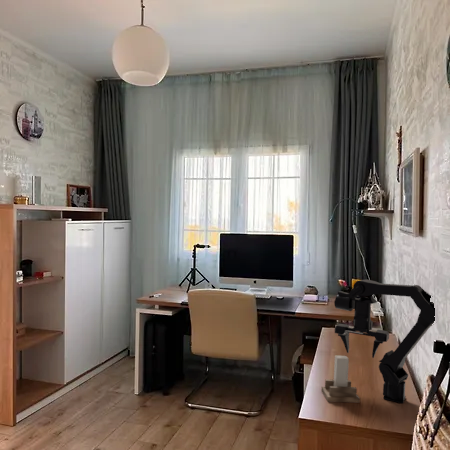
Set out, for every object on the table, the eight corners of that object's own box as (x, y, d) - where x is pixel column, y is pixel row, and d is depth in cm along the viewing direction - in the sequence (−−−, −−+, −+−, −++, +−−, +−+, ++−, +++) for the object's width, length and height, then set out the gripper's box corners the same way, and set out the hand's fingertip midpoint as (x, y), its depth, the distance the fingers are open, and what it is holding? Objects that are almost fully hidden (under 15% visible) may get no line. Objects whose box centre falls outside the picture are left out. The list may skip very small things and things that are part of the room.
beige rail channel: (351, 391, 156) (352, 379, 156) (359, 402, 147) (360, 389, 147) (321, 390, 156) (321, 378, 156) (327, 401, 147) (328, 388, 147)
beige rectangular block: (344, 390, 153) (346, 355, 153) (347, 394, 150) (348, 358, 150) (333, 390, 153) (334, 355, 152) (335, 393, 150) (337, 358, 149)
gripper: (392, 313, 162) (390, 354, 163) (343, 306, 172) (341, 345, 172) (387, 319, 153) (385, 362, 153) (335, 311, 162) (333, 352, 163)
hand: (360, 355), depth 160 cm, fingers open, 9 cm apart
